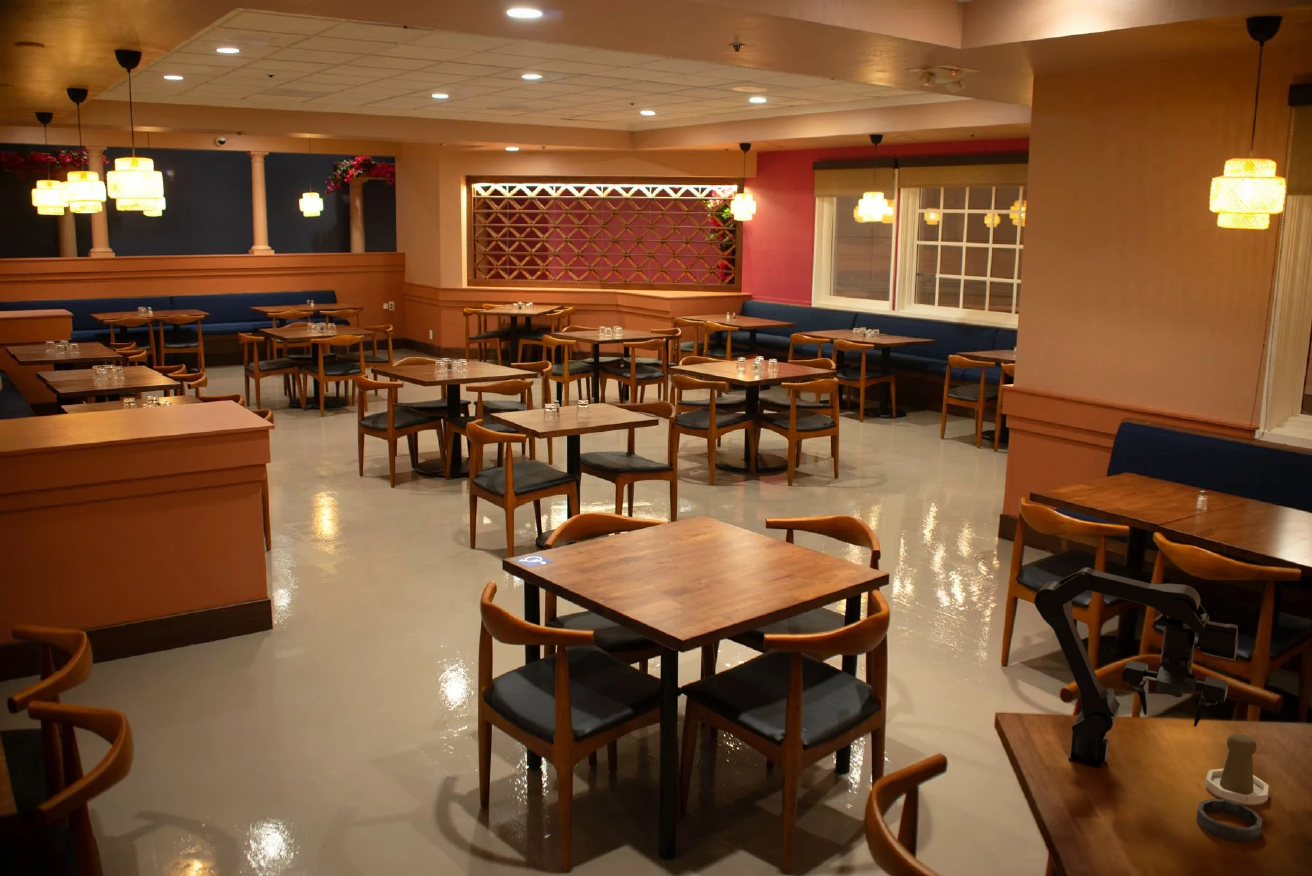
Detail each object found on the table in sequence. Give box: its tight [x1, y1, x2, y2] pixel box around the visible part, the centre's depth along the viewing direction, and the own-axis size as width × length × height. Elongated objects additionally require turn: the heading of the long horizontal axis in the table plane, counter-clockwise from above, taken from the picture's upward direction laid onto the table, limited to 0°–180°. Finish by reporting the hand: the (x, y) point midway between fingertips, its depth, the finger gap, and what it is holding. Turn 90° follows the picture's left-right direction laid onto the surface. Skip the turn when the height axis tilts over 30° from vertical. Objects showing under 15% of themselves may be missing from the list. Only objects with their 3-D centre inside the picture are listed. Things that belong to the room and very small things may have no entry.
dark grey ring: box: [1195, 798, 1263, 843], centre depth 199 cm, size 11×11×2 cm
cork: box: [1220, 732, 1258, 795], centre depth 211 cm, size 6×6×11 cm
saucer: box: [1205, 767, 1270, 806], centre depth 212 cm, size 11×11×2 cm
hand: (1170, 719), depth 214 cm, fingers open, 9 cm apart
